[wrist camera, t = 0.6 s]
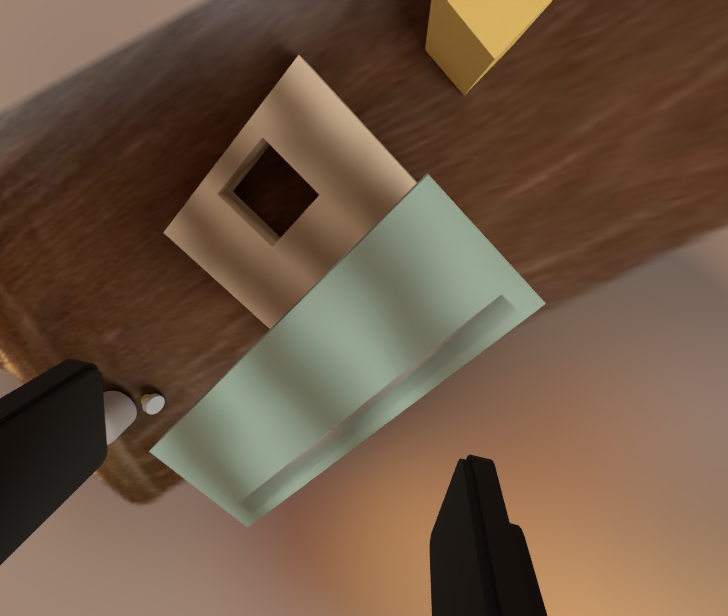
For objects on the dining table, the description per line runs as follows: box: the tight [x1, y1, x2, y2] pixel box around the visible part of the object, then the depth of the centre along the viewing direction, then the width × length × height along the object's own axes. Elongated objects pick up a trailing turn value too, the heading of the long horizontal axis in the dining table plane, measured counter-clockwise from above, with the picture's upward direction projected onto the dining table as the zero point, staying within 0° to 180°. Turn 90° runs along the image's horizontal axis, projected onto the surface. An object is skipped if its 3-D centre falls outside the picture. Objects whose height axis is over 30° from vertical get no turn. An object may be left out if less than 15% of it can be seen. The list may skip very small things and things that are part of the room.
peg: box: [425, 0, 553, 95], centre depth 23 cm, size 4×4×12 cm
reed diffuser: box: [103, 391, 165, 445], centre depth 35 cm, size 10×7×20 cm
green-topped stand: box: [149, 55, 545, 527], centre depth 26 cm, size 20×18×19 cm
